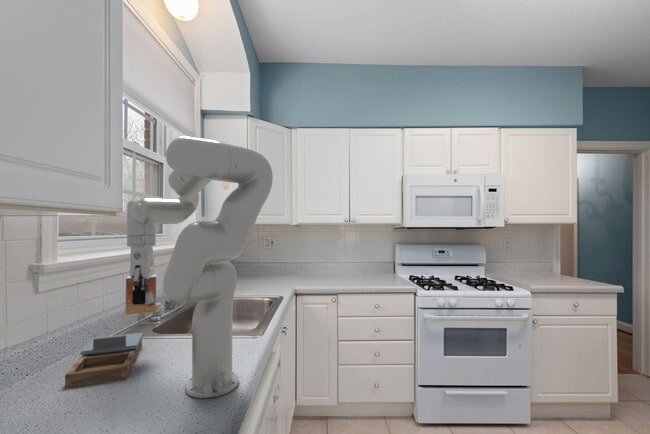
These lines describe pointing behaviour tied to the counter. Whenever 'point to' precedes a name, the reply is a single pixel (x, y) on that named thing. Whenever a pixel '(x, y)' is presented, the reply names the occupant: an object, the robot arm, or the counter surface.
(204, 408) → the counter surface
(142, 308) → the small box
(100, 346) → the cover
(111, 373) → the brown wooden shallow tray
